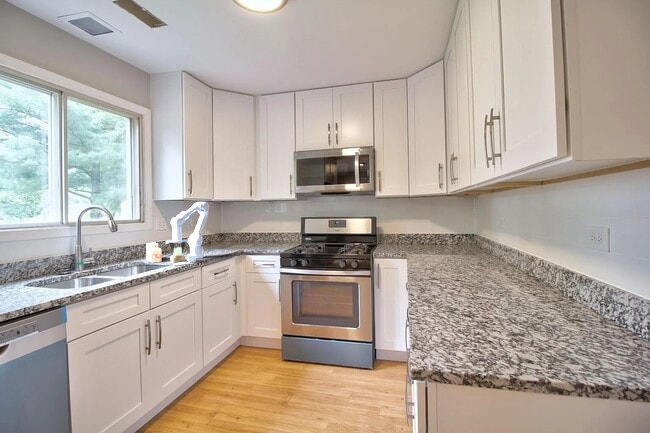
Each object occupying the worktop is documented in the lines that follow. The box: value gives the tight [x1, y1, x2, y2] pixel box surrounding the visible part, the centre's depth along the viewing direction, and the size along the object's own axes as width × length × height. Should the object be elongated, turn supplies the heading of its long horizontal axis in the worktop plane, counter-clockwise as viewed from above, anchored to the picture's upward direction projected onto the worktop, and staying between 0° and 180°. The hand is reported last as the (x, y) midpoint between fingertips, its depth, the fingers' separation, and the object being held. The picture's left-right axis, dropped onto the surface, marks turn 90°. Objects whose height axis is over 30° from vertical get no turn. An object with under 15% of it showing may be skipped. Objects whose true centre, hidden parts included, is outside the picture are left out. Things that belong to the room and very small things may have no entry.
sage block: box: [173, 246, 183, 256], centre depth 214 cm, size 5×5×5 cm
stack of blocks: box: [145, 242, 162, 264], centre depth 218 cm, size 21×6×12 cm, turn 40°
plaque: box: [172, 261, 190, 267], centre depth 201 cm, size 9×9×1 cm
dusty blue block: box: [186, 254, 197, 263], centre depth 211 cm, size 5×5×5 cm
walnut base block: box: [169, 254, 186, 264], centre depth 214 cm, size 8×8×4 cm
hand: (177, 252), depth 214 cm, fingers closed on sage block, 5 cm apart
